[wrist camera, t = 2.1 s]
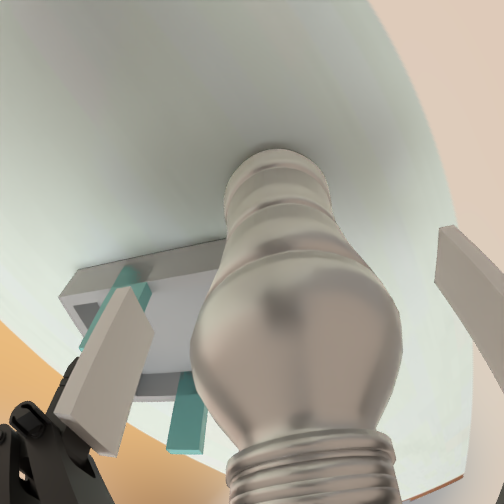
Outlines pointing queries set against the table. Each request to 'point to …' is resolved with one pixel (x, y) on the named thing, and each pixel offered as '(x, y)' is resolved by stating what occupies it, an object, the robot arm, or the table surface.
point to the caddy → (157, 325)
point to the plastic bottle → (297, 345)
